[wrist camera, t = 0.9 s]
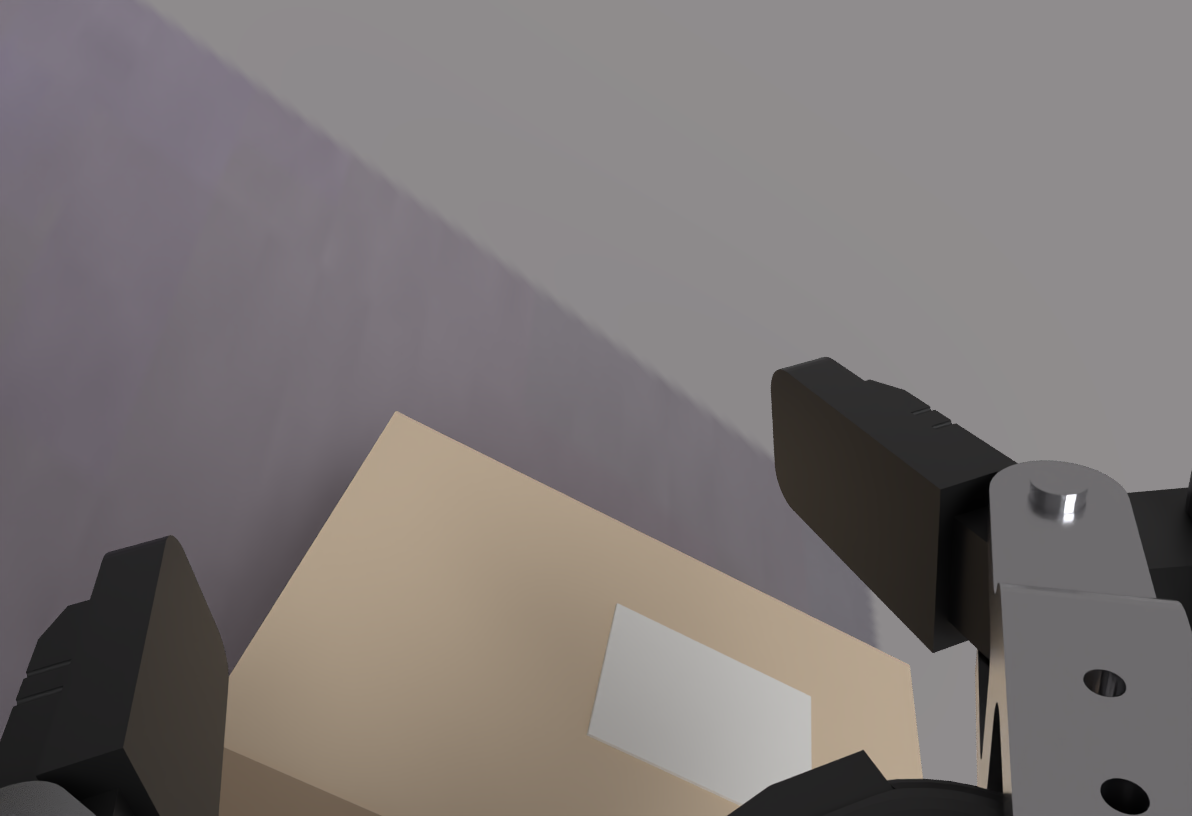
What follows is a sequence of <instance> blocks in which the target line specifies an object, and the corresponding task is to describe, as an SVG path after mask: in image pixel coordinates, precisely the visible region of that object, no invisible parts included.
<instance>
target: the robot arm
mask: <svg viewBox="0 0 1192 816" xmlns="http://www.w3.org/2000/svg"><path fill="white" fill-rule="evenodd" d="M771 400H772V419H773V438H774V457H775V470H776V475H777V479H778V483H779V486H780V489H781V491H782V493H783V495H784V498H785V499H786V501H787V503H788V504H789V506H790V507H791V508H792V509H793V510H794V511H795V512H796V513H797V514H798V515H799V516H800V518H801V519H802V520H803V521H804V522H805V523H806V524H807V525H808V526H809V527H810V528H811V529H812V530H813V531H814V532H815V533H816V534H817V535H818V536H819V537H820V538H821V539H822V540H823V541H824V542H825V543H826V544H827V545H828V546H829V547H830V548H831V549H832V550H833V551H834V552H835V553H836V554H837V555H838V556H839V557H840V559H841V560H842V561H843V562H844V563H845V564H846V565H847V566H848V567H849V568H850V569H851V570H852V571H853V572H854V573H855V574H856V575H857V576H858V577H859V578H860V579H861V580H862V581H863V582H864V583H865V584H866V585H867V586H868V587H869V588H870V589H871V590H872V591H873V592H874V593H875V594H876V595H877V596H878V597H879V598H880V599H881V601H883V603H884V604H885V605H886V606H887V607H888V608H889V609H890V610H891V611H892V612H893V613H894V614H895V615H896V616H897V617H898V618H899V619H900V620H901V621H902V622H903V623H904V624H905V625H906V626H907V627H908V628H909V629H910V630H911V631H912V632H913V633H914V634H915V635H916V636H917V637H918V638H919V639H920V640H921V641H922V642H923V643H924V645H926V647H927V648H928V649H929V650H930V651H931V652H932V653H935V652H937V651H940V650H943V649H946V648H948V647H951V646H954V645H957V644H959V643H962V642H964V641H968V640H969V641H970V642H971V643H972V644H973V645H974V646H975V647H976V648H977V657H976V668H975V680H976V681H975V682H976V736H977V738H976V739H977V786H973V785H968V784H962V783H957V782H952V781H943V780H931V779H893V780H886V778H885V777H884V776H883V774H882V773H881V772H880V770H879V769H878V768H877V767H876V765H875V764H874V763H873V761H872V760H871V759H870V757H869V756H868V755H867V753H866V752H865V751H864V750H861V751H859V752H856V753H854V754H851V755H848V756H846V757H843V758H840V759H838V760H835V761H833V762H830V763H827V764H825V765H822V766H820V767H817V768H814V769H812V770H809V771H806V772H804V773H801V774H799V775H796V776H793V777H791V778H788V779H785V780H783V781H780V782H778V783H775V784H772V785H770V786H768V787H767V788H765V789H764V790H763V791H761V792H760V793H758V794H757V795H756V796H754V797H753V798H751V799H750V800H748V801H747V802H746V803H744V804H743V805H741V806H740V807H739V808H737V809H736V810H734V811H733V812H732V813H730V814H729V815H727V816H1192V472H1191V477H1190V482H1189V487H1188V488H1178V489H1167V490H1156V491H1145V492H1133V493H1127V492H1126V491H1125V490H1124V488H1123V487H1122V486H1121V485H1120V484H1119V483H1118V482H1116V481H1115V480H1114V479H1112V478H1111V477H1109V476H1107V475H1106V474H1103V473H1101V472H1099V471H1097V470H1094V469H1091V468H1089V467H1086V466H1082V465H1078V464H1074V463H1068V462H1061V461H1029V462H1023V463H1016V462H1015V461H1013V460H1012V459H1010V458H1009V457H1007V456H1005V455H1004V454H1002V453H1001V452H999V451H998V450H996V449H995V448H993V447H991V446H990V445H988V444H987V443H985V442H984V441H982V440H981V439H979V438H977V437H976V436H975V435H973V434H971V433H970V432H968V431H967V430H965V429H964V428H962V427H961V426H959V425H958V424H953V425H952V423H951V420H950V419H948V418H947V417H945V416H944V415H942V414H941V413H939V412H938V411H936V410H933V411H931V409H930V406H928V405H927V404H925V403H924V402H922V401H921V400H919V399H918V398H916V397H915V396H913V395H911V394H910V393H908V392H907V391H905V390H902V389H899V388H896V387H893V386H889V385H886V384H882V383H879V382H876V381H873V380H867V381H864V380H862V379H861V378H859V377H858V376H857V375H855V374H853V373H852V372H851V371H849V370H848V369H846V368H845V367H843V366H842V365H840V364H839V363H837V362H836V361H834V360H833V359H831V358H829V357H823V358H819V359H815V360H812V361H808V362H804V363H801V364H797V365H794V366H790V367H786V368H782V369H779V370H777V371H776V372H775V373H774V374H773V377H772V381H771ZM26 673H27V678H25V679H23V682H22V685H21V687H20V690H19V693H18V695H17V698H16V701H17V706H14V707H13V709H12V712H11V714H10V717H9V720H8V722H7V725H6V728H5V730H4V733H3V736H2V738H1V741H0V816H219V804H220V791H221V777H222V764H223V751H224V738H225V725H226V712H227V698H228V685H229V674H228V665H227V659H226V654H225V650H224V646H223V642H222V639H221V636H220V633H219V631H218V628H217V626H216V624H215V621H214V619H213V617H212V615H211V612H210V610H209V608H208V605H207V603H206V601H205V598H204V596H203V594H202V591H201V589H200V587H199V584H198V582H197V580H196V578H195V575H194V573H193V571H192V568H191V566H190V564H189V561H188V559H187V557H186V554H185V552H184V550H183V548H182V546H181V544H180V543H179V541H178V540H177V539H176V538H175V537H174V536H171V535H170V536H166V537H163V538H159V539H155V540H152V541H148V542H144V543H141V544H137V545H133V546H130V547H126V548H122V549H119V550H115V551H112V552H108V553H106V554H105V556H104V558H103V560H102V563H101V566H100V570H99V573H98V576H97V579H96V583H95V586H94V589H93V592H92V595H91V599H90V600H87V601H84V602H80V603H77V604H73V605H70V606H67V608H66V609H65V610H64V611H63V612H62V613H61V614H60V615H59V617H58V618H57V619H56V620H55V621H54V622H53V623H52V625H51V626H50V627H49V628H48V629H47V630H46V631H45V632H44V634H43V635H42V636H41V637H40V638H39V639H38V642H37V644H36V647H35V650H34V652H33V655H32V658H31V660H30V663H29V666H28V669H27V671H26Z"/></svg>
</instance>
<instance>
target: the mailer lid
mask: <svg viewBox="0 0 1192 816" xmlns="http://www.w3.org/2000/svg"><path fill="white" fill-rule="evenodd" d="M861 750H864V751H865V752H866V753H867V755H868V756H869V757H870V759H871V760H872V761H873V763H874V764H875V765H876V767H877V768H878V769H879V770H880V772H881V773H882V774H883V776H884V777H885V778H886V780H893V779H923V776H922V767H921V759H920V751H919V741H918V733H917V724H916V716H915V707H914V699H913V690H912V681H911V673H910V666H909V665H908V664H906V663H904V662H902V661H900V660H898V659H896V658H894V657H892V656H890V655H888V654H886V653H884V652H882V651H880V650H878V649H876V648H874V647H872V646H870V645H868V644H866V643H864V642H862V641H860V640H858V639H856V638H854V637H852V636H850V635H848V634H846V633H844V632H842V631H840V630H838V629H836V628H834V627H832V626H830V625H827V624H825V623H823V622H821V621H819V620H817V619H815V618H813V617H811V616H809V615H807V614H805V613H803V612H801V611H799V610H797V609H795V608H793V607H791V606H789V605H787V604H785V603H783V602H781V601H779V600H777V599H775V598H773V597H771V596H769V595H767V594H765V593H763V592H761V591H759V590H757V589H755V588H753V587H751V586H749V585H747V584H745V583H743V582H741V581H739V580H737V579H735V578H732V577H730V576H728V575H726V574H724V573H722V572H720V571H718V570H716V569H714V568H712V567H710V566H708V565H706V564H704V563H702V562H700V561H698V560H696V559H694V558H692V557H690V556H688V555H686V554H684V553H682V552H680V551H678V550H676V549H674V548H672V547H670V546H668V545H666V544H664V543H662V542H660V541H658V540H656V539H654V538H652V537H650V536H648V535H646V534H644V533H642V532H639V531H637V530H635V529H633V528H631V527H629V526H627V525H625V524H623V523H621V522H619V521H617V520H615V519H613V518H611V517H609V516H607V515H605V514H603V513H601V512H599V511H597V510H595V509H593V508H591V507H589V506H587V505H585V504H583V503H581V502H579V501H577V500H575V499H573V498H571V497H569V496H567V495H565V494H563V493H561V492H559V491H557V490H555V489H553V488H551V487H549V486H546V485H544V484H542V483H540V482H538V481H536V480H534V479H532V478H530V477H528V476H526V475H524V474H522V473H520V472H518V471H516V470H514V469H512V468H510V467H508V466H506V465H504V464H502V463H500V462H498V461H496V460H494V459H492V458H490V457H488V456H486V455H484V454H482V453H480V452H478V451H476V450H474V449H472V448H470V447H468V446H466V445H464V444H462V443H460V442H458V441H456V440H454V439H451V438H449V437H447V436H445V435H443V434H441V433H439V432H437V431H435V430H433V429H431V428H429V427H427V426H425V425H423V424H421V423H419V422H417V421H415V420H413V419H411V418H409V417H407V416H405V415H403V414H401V413H399V412H397V411H396V412H395V413H394V415H393V416H392V418H391V420H390V421H389V423H388V424H387V426H386V427H385V429H384V431H383V432H382V434H381V435H380V437H379V439H378V440H377V442H376V443H375V445H374V447H373V448H372V450H371V451H370V453H369V455H368V456H367V458H366V459H365V461H364V462H363V464H362V466H361V467H360V469H359V470H358V472H357V474H356V475H355V477H354V478H353V480H352V482H351V483H350V485H349V486H348V488H347V490H346V491H345V493H344V494H343V496H342V498H341V499H340V501H339V502H338V504H337V505H336V507H335V509H334V510H333V512H332V513H331V515H330V517H329V518H328V520H327V521H326V523H325V525H324V526H323V528H322V529H321V531H320V533H319V534H318V536H317V537H316V539H315V540H314V542H313V544H312V545H311V547H310V548H309V550H308V552H307V553H306V555H305V556H304V558H303V560H302V561H301V563H300V564H299V566H298V568H297V569H296V571H295V572H294V574H293V576H292V577H291V579H290V580H289V582H288V583H287V585H286V587H285V588H284V590H283V591H282V593H281V595H280V596H279V598H278V599H277V601H276V603H275V604H274V606H273V607H272V609H271V611H270V612H269V614H268V615H267V617H266V618H265V620H264V622H263V623H262V625H261V626H260V628H259V630H258V631H257V633H256V634H255V636H254V638H253V639H252V641H251V642H250V644H249V646H248V647H247V649H246V650H245V652H244V653H243V655H242V657H241V658H240V660H239V661H238V663H237V665H236V666H235V668H234V669H233V671H232V673H231V674H230V676H229V685H228V698H227V712H226V725H225V738H224V751H223V764H222V777H221V791H220V804H219V816H727V815H729V814H730V813H732V812H733V811H734V810H736V809H737V808H739V807H740V806H741V805H743V804H744V803H746V802H747V801H748V800H750V799H751V798H753V797H754V796H756V795H757V794H758V793H760V792H761V791H763V790H764V789H765V788H767V787H768V786H770V785H772V784H775V783H778V782H780V781H783V780H785V779H788V778H791V777H793V776H796V775H799V774H801V773H804V772H806V771H809V770H812V769H814V768H817V767H820V766H822V765H825V764H827V763H830V762H833V761H835V760H838V759H840V758H843V757H846V756H848V755H851V754H854V753H856V752H859V751H861Z"/></svg>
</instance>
